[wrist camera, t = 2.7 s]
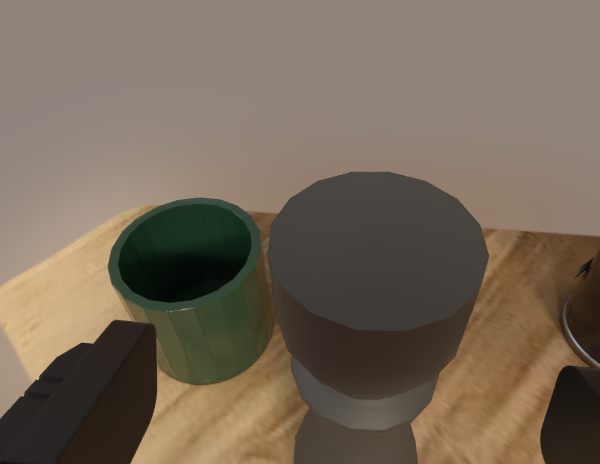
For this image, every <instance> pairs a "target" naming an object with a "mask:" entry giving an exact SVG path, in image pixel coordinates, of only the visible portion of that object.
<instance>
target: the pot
mask: <svg viewBox="0 0 600 464" xmlns="http://www.w3.org/2000/svg"><path fill="white" fill-rule="evenodd" d="M108 271H109V275H110V279H111V284H112V286H113V288H114V289H115V291H116V293H117V295H118V297H119V299H120V300H121V302H122V304H123V306H124V308H125V310H126V312H127V313H128V315H129V317H130V319H131V321H133V322H143V323H152V324H154V326H155V328H156V340H157V366H158V367H159V368H160V369H161V370H162V371H163V372H164V373H165V374H167V375H168V376H169V377H171V378H173V379H175V380H177V381H180V382H183V383H188V384H193V385H207V384H215V383H220V382H223V381H226V380H229V379H231V378H233V377H235V376H237V375H239V374H241V373H242V372H244V371H246V370H247V369H248V368H249V367H251V366H252V365H253V364H254V363H255V362H256V361H257V360H258V359H259V358H260V356H261V355H262V354H263V352H264V351H265V349H266V348H267V346H268V343H269V341H270V339H271V335H272V331H273V314H272V305H271V298H270V292H269V285H268V279H267V273H266V266H265V260H264V253H263V247H262V241H261V234H260V230H259V228H258V227H257V225H256V223H255V222H254V220H253V218H252V217H251V216H250V215H249V214H248V213H246V212H245V211H244V210H242V209H241V208H239V207H238V206H237V205H234V204H231V203H228V202H225V201H223V200H219V199H209V198H192V199H184V200H177V201H174V202H171V203H167V204H164V205H161V206H158V207H156V208H154V209H152V210H151V211H149V212H147V213H145V214H144V215H142V216H140V217H138V218H137V219H136V220H134V221H133V222H132V223H131V224H130V225H129V226H128V227H127V228H126V229H125V230H123V231H122V233H121V234H120V236H119V238H118V239H117V241H116V242H115V244H114V246H113V247H112V249H111V254H110V258H109V263H108Z"/></svg>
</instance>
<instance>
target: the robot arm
mask: <svg viewBox="0 0 600 464" xmlns="http://www.w3.org/2000/svg"><path fill="white" fill-rule="evenodd" d="M585 270H586V272H585V273H584V275H583V276H582V278H581V280H580V281H579V283H578V285H577V286H576V288H575V290H574V291H573V292H572V293H571V294H570V296H569V297H568V299H567V300H566V302H565V304H564V305H563V308H562V311H561V326H562V330H563V333H564V335H565V338H566V339H567V341H568V343H569V345H570V346H571V348H572V349H573V350H574V351H575V353H576V354H577V355H578V356H579V357H580V358H581V359H582V360H583V361H584V362H585V363H586V364H588V365H589V366H590V367H591V368H589V367H579V366H565V367H564V368H563V369H562V370H561V371H560V373H559V375H558V378H557V381H556V384H555V388H554V391H553V394H552V397H551V400H550V403H549V407H548V410H547V413H546V416H545V419H544V422H543V425H542V429H541V436H540V443H541V450H542V455H543V458H544V461H545V463H546V464H600V248H599V250H598V252H597V253H596V255H595V257H594V258H592V259H591V260H590V261H588V262H587V263H586V264H584V265H583V266H582V267H581V269H580V270H579V272H578V274H577V275H576V277H577V276H579V275H580V274H581V273H583V272H584V271H585ZM576 277H575V278H576ZM156 397H157V340H156V328H155V326H154V324H152V323H143V322H133V321H123V320H114V321H112V322H111V323H110V324H109V326H108V327H107V328H106V329H105V330H104V332H103V333H102V334H101V335H100V336H99V338H98V339H97V340H96V341H95V342H94V344H90V343H80V344H79V345H77V346H75V347H74V348H72V349H70V350H68V351H67V352H65V353H63V354H62V355H60V356H58V357H57V358H56V359H55V360H54V361H53V362H52V363H51V364H50V365H49V366H48V367H47V368H46V370H45V371H44V372H43V373H42V374H41V375H40V376H39V380H35V382H34V383H33V384H32V385H31V386H30V387H29V388H28V389H27V390H26V391H25V394H24V397H20V398H19V399H18V400H17V401H16V402H15V403H14V404H13V406H12V407H11V408H10V409H9V410H8V411H7V412H6V413H5V414H4V415H3V416H2V418H1V419H0V464H130V463H131V461H132V459H133V457H134V455H135V453H136V451H137V449H138V447H139V444H140V442H141V440H142V438H143V436H144V434H145V432H146V430H147V428H148V426H149V424H150V421H151V419H152V416H153V412H154V409H155V404H156Z"/></svg>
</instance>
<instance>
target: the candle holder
mask: <svg viewBox="0 0 600 464" xmlns="http://www.w3.org/2000/svg"><path fill="white" fill-rule="evenodd" d="M268 259H269V266H270V273H271V280H272V286H273V293H274V300H275V307H276V314H277V320H278V324H279V326H280V329H281V332H282V334H283V337H284V340H285V343H286V345H287V348H288V351H289V352H290V353H291V354H292V365H291V370H292V373H293V376H294V379H295V382H296V384H297V387H298V390H299V393H300V395H301V398H302V399H303V400H304V401H305V403H306V404H307V405H308V406H309V407H310V408H309V410H308V411H307V413H306V415H305V418H304V420H303V422H302V424H301V426H300V428H299V430H298V432H297V434H296V436H295V451H294V464H418V461H417V452H416V442H415V438H414V435H413V432H412V428H411V425H410V423H411V422H412V421H413V420H414V419H415V418H416V417H417V416H418V415H419V414H420V413H421V412H422V411H423V409H424V408H425V407H426V406H427V405H428V404H429V403H430V402H431V399H432V396H433V393H434V390H435V386H436V383H437V380H438V376H439V373H440V372H441V370H442V369H443V368H444V367H445V366H446V365H447V364H448V363H449V362H450V361H451V360H452V359H453V358H454V357H455V356H456V353H457V350H458V348H459V345H460V342H461V339H462V337H463V334H464V331H465V329H466V326H467V323H468V320H469V318H470V315H471V312H472V310H473V307H474V304H475V301H476V299H477V296H478V293H479V291H480V287H481V284H482V280H483V277H484V273H485V269H486V266H487V262H488V259H489V254H488V250H487V247H486V243H485V240H484V237H483V233H482V230H481V226H480V224H479V223H478V222H477V221H476V220H475V219H474V217H473V216H472V215H471V214H470V213H469V212H468V211H467V209H466V208H465V207H464V206H463V205H462V204H461V203H460V202H459V201H458V199H456V198H455V197H453V196H451V195H449V194H448V193H446V192H444V191H442V190H440V189H439V188H437V187H435V186H433V185H432V184H430V183H428V182H426V181H423V180H419V179H415V178H411V177H407V176H403V175H399V174H395V173H391V172H350V173H347V174H343V175H339V176H336V177H331V178H328V179H324V180H320V181H317V182H316V183H314V184H312V185H311V186H309V187H308V188H306V189H304V190H303V191H301V192H300V193H298V194H296V195H295V196H293V197H292V198H290V199H289V201H288V202H287V203H286V205H285V206H284V207H283V209H282V210H281V211H280V213H279V214H278V216H277V217H276V218H275V220H274V221H273V222H272V226H271V233H270V240H269V247H268Z"/></svg>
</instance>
